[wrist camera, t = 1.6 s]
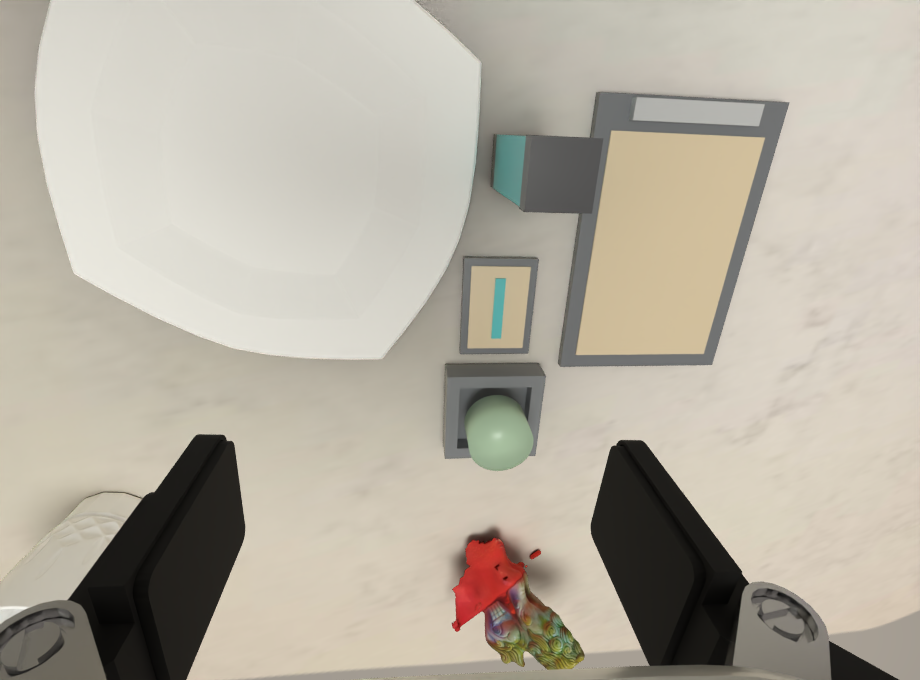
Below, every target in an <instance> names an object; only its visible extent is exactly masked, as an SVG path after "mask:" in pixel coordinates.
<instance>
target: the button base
mask: <svg viewBox="0 0 920 680" xmlns="http://www.w3.org/2000/svg"><path fill="white" fill-rule="evenodd" d="M545 378H546V376H545V374H544V372H543V370H542V368H541V367H540V365H539V363H507V364H445V394H444V426H443V447H444V456H445V459H453V458H472V457H471V455H470V452H469V447H468V441H467V436H466V431H465V425H464V421H465V416H466V413H467V411H468V410H469V408H470V407H471V406H472V405H473V404H474V403H475V402H476V401H478V400H480V399H482V398H484V397H487V396H491V395H503V396H507V397H510V398H512V399H514V400H515V401H516V402H518V404H519V405H520V406H521V408H522V410H523V412H524V414H525V417H526V419H527V422H528V424H529V427H530V429H531V432H532V434H533V440H534V441H533V448H532V450H531V452H530V454H529V456H535V454H536V446H537V439H538V431H539V424H540V416H541V408H542V401H543V393H544V386H545Z"/></svg>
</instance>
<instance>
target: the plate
mask: <svg viewBox="0 0 920 680" xmlns="http://www.w3.org/2000/svg"><path fill="white" fill-rule="evenodd" d="M481 66H482V62H481V61H480V60H479V59H478V58H477V57H476V56H475V55H474V54H473V53H471V52H470V51H469V50H468V49H467V48H466V47H465V46H464V45H463V44H462V43H461V42H460V41H459V40H458V39H457V38H456V37H455V36H454V35H453V34H452V33H451V32H450V31H449V30H448V29H447V28H445V27H444V26H443V25H442V24H441V23H440V22H439V21H437V20H436V19H435V18H434V17H433V16H432V15H431V14H429V13H428V12H427V11H426V10H425V9H424V8H423V7H421V6H420V5H419V4H418V3H417V2H416V1H415V0H50V4H49V8H48V12H47V16H46V20H45V24H44V28H43V32H42V35H41V39H40V43H39V49H38V59H37V69H36V79H35V89H34V95H35V111H36V128H37V138H38V143H39V148H40V153H41V159H42V164H43V169H44V174H45V179H46V184H47V188H48V191H49V195H50V198H51V202H52V205H53V209H54V212H55V216H56V219H57V222H58V226H59V229H60V233H61V236H62V239H63V242H64V245H65V248H66V251H67V255H68V258H69V261H70V264H71V267H72V270H73V273H74V274H75V275H77V276H78V277H80V278H82V279H84V280H86V281H87V282H89V283H91V284H93V285H95V286H96V287H98V288H100V289H102V290H103V291H105V292H107V293H109V294H111V295H112V296H114V297H116V298H118V299H120V300H122V301H124V302H126V303H128V304H130V305H132V306H134V307H136V308H138V309H140V310H142V311H144V312H146V313H148V314H150V315H152V316H153V317H155V318H157V319H160V320H162V321H164V322H166V323H169V324H171V325H173V326H175V327H178V328H180V329H182V330H184V331H187V332H189V333H191V334H194V335H196V336H198V337H201V338H204V339H207V340H210V341H213V342H216V343H219V344H221V345H224V346H227V347H230V348H233V349H238V350H244V351H249V352H255V353H260V354H266V355H274V356H284V357H295V358H306V359H338V360H366V359H383V357H384V356H385V355H386V354H387V352H388V351H389V350H390V349H391V347H392V346H393V345H394V344H395V342H396V341H397V340H398V339H399V337H400V336H401V335H402V334H403V332H404V331H405V330H406V329H407V327H408V326H409V325H410V323H411V322H412V321H413V319H414V318H415V317H416V315H417V314H418V313H419V311H420V310H421V309H422V307H423V306H424V305H425V303H426V302H427V300H428V299H429V297H430V295H431V294H432V292H433V290H434V289H435V287H436V286H437V284H438V282H439V281H440V279H441V277H442V276H443V274H444V273H445V271H446V269H447V266H448V264H449V262H450V260H451V258H452V255H453V253H454V251H455V249H456V246H457V244H458V242H459V240H460V236H461V233H462V229H463V226H464V222H465V219H466V215H467V212H468V208H469V204H470V197H471V191H472V185H473V178H474V172H475V165H476V154H477V140H478V126H479V111H480V89H481Z"/></svg>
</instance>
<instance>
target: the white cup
mask: <svg viewBox="0 0 920 680" xmlns="http://www.w3.org/2000/svg"><path fill="white" fill-rule="evenodd" d="M141 500H142V499H141V498H138V497H135V496H132V495H129V494H126V493H105V492H104V493H100V494H97V495H94V496H91V497H88V498H86V499H84V500H83V501H82V502H81V503H80V504H79V505H78V506H77V507H76V508H75V509H74V510H73V511H72V512H71V513H70V514H69V515H68V517H67V518H66V519H64V520H63V521H62V522H61V523H60V524H59V525H58V526H57V527H55V528H54V529H52V530H51V531H50V532H49V533H48V534H47V535H46V536H45V537H44V538H43V539H42V540H41V541H40V542H39V543H38V544H37V545H36V546H35V547H34V548H33V549H32V550H31V551H30V552H29V553H28V554H27V555H26V556H25V557H24V558H22V559H21V560H20V561H19V562H18V563H17V564H16V565H15V567H14V568H13V569H12V570H11V571H10V572H9V573H8V574H7V575H6V576H5V577H4V578H3V579H2V580H1V581H0V624H1V623H3V622H4V621H5V620H7V619H8V618H10V617H12V616H14V615H16V614H17V613H19V612H21V611H23V610H25V609H27V608H30V607H33V606H35V605H38V604H40V603H45V602H50V601H55V600H68V599H69V597H70V596H71V595H72V593H73V592H74V591H75V589H76V588H77V587H78V585H79V584H80V582H81V581H82V580H83V578H84V577H85V576H86V574H87V573H88V572H89V570H90V569H91V568H92V566H93V565H94V563H95V562H96V561H97V559H98V558H99V557H100V555H101V554H102V553H103V551H104V550H105V549H106V547H107V546H108V545H109V543H110V542H111V540H112V539H113V538H114V536H115V535H116V534H117V532H118V531H119V530H120V528H121V527H122V526H123V524H124V523H125V521H126V520H127V519H128V517H129V516H130V515H131V513H132V512H133V511H134V509H135V508H136V507H137V505H138V504H139V503H140V501H141Z"/></svg>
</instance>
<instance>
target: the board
mask: <svg viewBox="0 0 920 680" xmlns="http://www.w3.org/2000/svg"><path fill="white" fill-rule="evenodd" d="M788 105H789V103H788V102H770V101H752V100H734V99H716V98H698V97H680V96H662V95H644V94H626V93H609V92H598V93H596V100H595V107H594V114H593V121H592V128H591V135H590V138H604V139H603V145H602V152H601V158H600V165H599V171H598V178H597V184H596V191H595V197H594V204H593V210H592V214H584V213H579V219H578V226H577V234H576V241H575V248H574V255H573V262H572V269H571V276H570V283H569V290H568V297H567V304H566V311H565V318H564V325H563V332H562V339H561V346H560V353H559V360H558V364H559V365H560V367H575V366H664V365H712V363H713V359H714V356H715V353H716V349H717V346H718V342H719V339H720V336H721V332H722V329H723V325H724V322H725V319H726V315H727V312H728V309H729V305H730V302H731V298H732V295H733V292H734V288H735V285H736V281H737V278H738V275H739V271H740V268H741V265H742V261H743V258H744V254H745V251H746V248H747V244H748V241H749V237H750V234H751V231H752V227H753V224H754V221H755V217H756V214H757V210H758V207H759V204H760V200H761V197H762V193H763V190H764V187H765V183H766V180H767V177H768V173H769V170H770V166H771V163H772V160H773V156H774V153H775V149H776V146H777V143H778V139H779V136H780V133H781V129H782V126H783V122H784V119H785V116H786V112H787V109H788Z"/></svg>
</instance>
